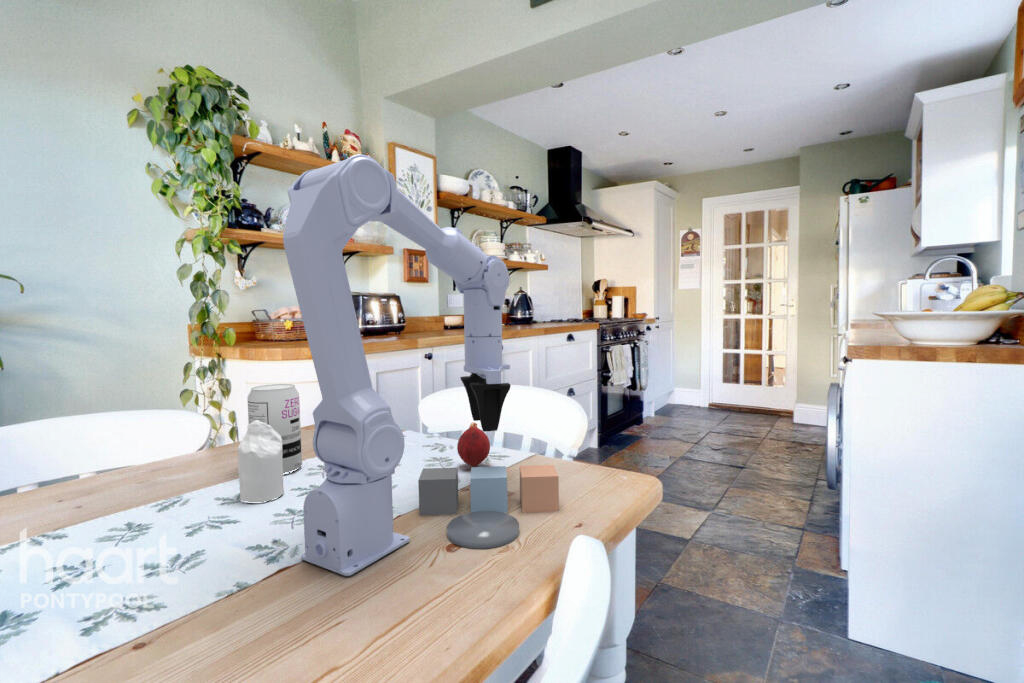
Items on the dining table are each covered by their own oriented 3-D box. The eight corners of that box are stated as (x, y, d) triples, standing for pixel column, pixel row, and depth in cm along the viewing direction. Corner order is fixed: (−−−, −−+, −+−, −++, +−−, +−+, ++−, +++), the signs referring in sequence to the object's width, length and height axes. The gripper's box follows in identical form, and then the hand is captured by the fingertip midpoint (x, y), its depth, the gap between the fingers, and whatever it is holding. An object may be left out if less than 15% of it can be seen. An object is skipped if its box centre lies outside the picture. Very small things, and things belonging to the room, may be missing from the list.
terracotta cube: (558, 511, 68) (558, 476, 68) (522, 513, 68) (521, 477, 67) (553, 498, 73) (553, 464, 72) (520, 499, 73) (519, 465, 72)
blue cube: (507, 513, 68) (507, 477, 67) (471, 514, 67) (470, 478, 67) (506, 499, 73) (505, 466, 72) (472, 500, 72) (471, 467, 72)
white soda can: (255, 466, 90) (251, 385, 89) (304, 461, 93) (301, 382, 92) (246, 480, 83) (241, 391, 82) (299, 475, 85) (296, 388, 84)
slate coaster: (493, 555, 56) (493, 548, 56) (431, 538, 60) (431, 531, 60) (532, 525, 63) (532, 519, 63) (474, 511, 68) (474, 506, 68)
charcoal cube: (456, 514, 67) (455, 478, 67) (419, 516, 67) (418, 480, 67) (458, 501, 72) (457, 467, 72) (424, 502, 72) (423, 468, 72)
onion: (489, 472, 85) (488, 426, 84) (455, 473, 85) (454, 426, 84) (491, 462, 90) (490, 419, 90) (460, 462, 91) (459, 419, 90)
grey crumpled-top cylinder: (279, 413, 78) (282, 420, 73) (283, 488, 79) (285, 499, 74) (236, 418, 75) (235, 425, 70) (240, 495, 76) (239, 507, 71)
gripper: (521, 337, 69) (522, 434, 70) (498, 334, 83) (499, 414, 84) (471, 338, 67) (473, 437, 68) (456, 335, 81) (457, 417, 82)
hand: (484, 425), depth 76 cm, fingers open, 7 cm apart
